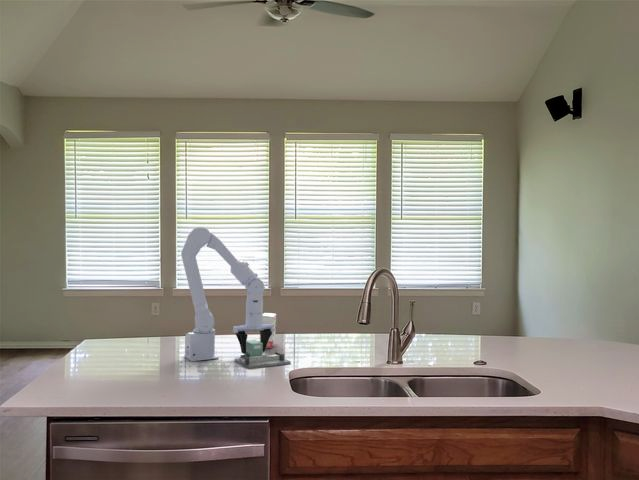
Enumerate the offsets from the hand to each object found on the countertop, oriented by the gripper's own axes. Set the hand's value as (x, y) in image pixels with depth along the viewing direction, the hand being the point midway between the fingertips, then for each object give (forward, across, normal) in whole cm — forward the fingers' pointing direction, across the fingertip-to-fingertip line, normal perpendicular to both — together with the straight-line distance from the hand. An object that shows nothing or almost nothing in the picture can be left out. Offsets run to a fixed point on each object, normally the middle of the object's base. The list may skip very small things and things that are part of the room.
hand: (253, 352), depth 187 cm
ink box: (+2, +12, +13) cm, 18 cm away
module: (+1, 0, 0) cm, 1 cm away
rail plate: (+1, -1, -10) cm, 10 cm away
